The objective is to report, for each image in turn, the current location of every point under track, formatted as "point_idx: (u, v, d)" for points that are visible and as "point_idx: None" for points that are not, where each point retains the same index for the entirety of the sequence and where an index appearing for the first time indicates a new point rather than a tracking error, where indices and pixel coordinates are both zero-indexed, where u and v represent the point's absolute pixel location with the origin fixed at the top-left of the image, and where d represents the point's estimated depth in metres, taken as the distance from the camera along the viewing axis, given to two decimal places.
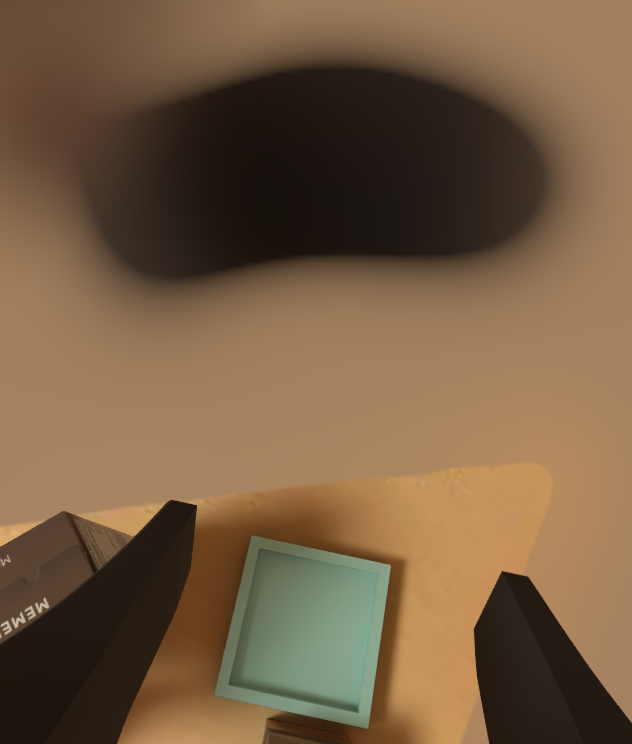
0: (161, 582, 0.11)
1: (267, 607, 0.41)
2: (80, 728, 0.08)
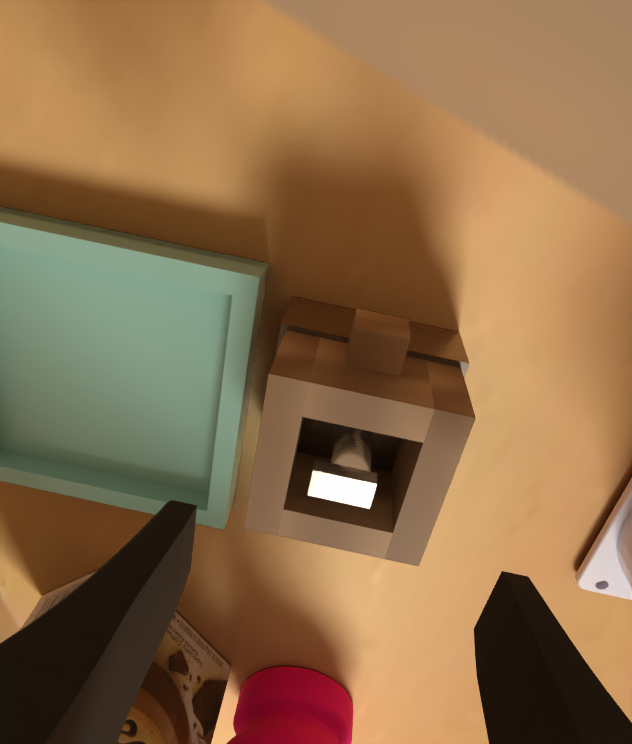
0: (161, 582, 0.11)
1: (88, 437, 0.22)
2: (80, 728, 0.08)
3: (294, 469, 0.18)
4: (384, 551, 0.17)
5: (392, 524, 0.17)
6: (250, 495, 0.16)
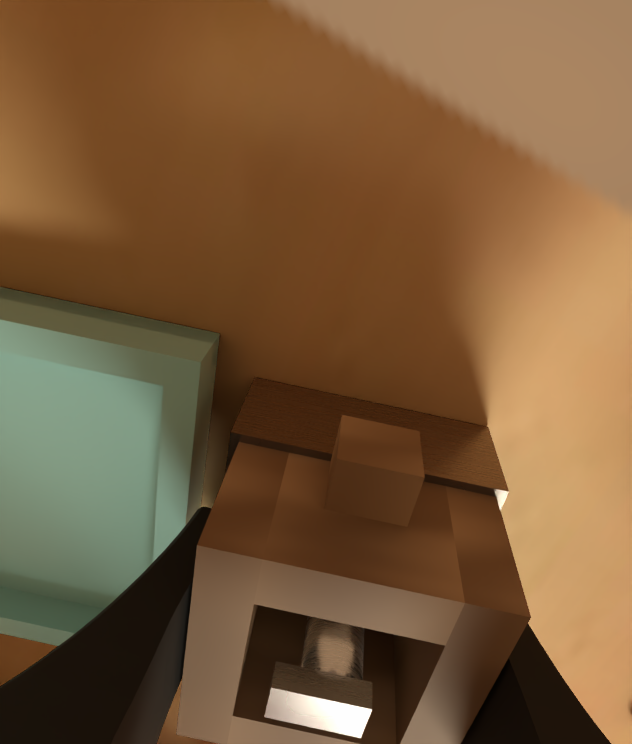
0: None
1: None
2: (129, 739, 0.08)
3: (255, 630, 0.13)
4: None
5: (395, 733, 0.11)
6: (182, 697, 0.11)
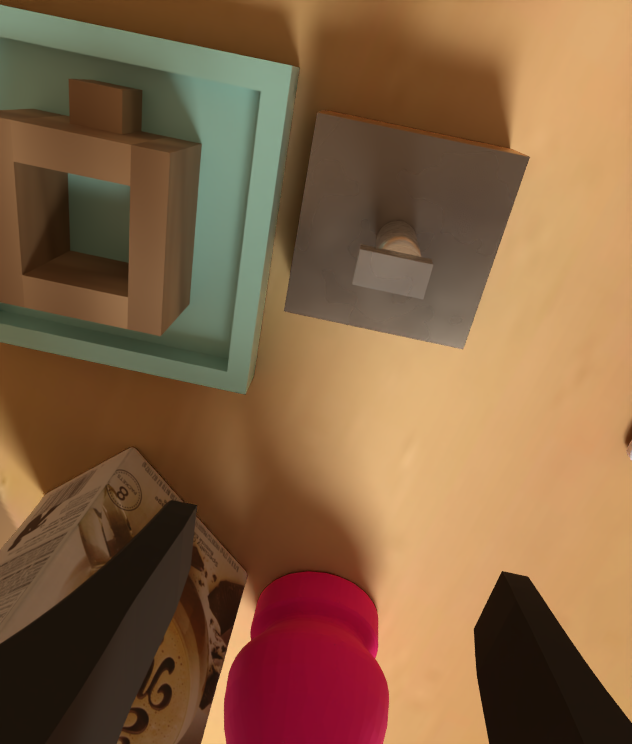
0: (161, 582, 0.11)
1: None
2: (80, 728, 0.08)
3: (57, 258, 0.19)
4: (125, 320, 0.17)
5: None
6: None
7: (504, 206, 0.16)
